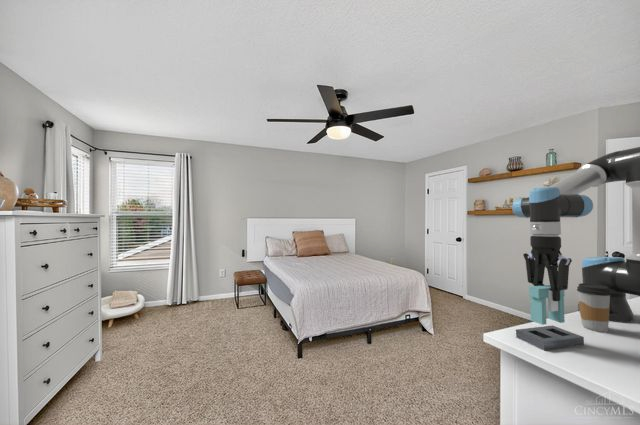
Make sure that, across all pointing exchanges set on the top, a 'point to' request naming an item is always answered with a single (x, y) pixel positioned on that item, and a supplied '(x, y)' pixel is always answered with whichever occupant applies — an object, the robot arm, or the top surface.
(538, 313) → the teal u-shaped block
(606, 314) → the coffee cup
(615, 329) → the top surface
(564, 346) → the grey slotted slab
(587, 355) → the top surface
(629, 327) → the top surface
